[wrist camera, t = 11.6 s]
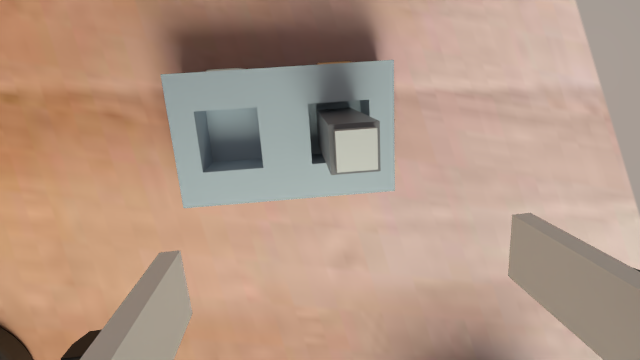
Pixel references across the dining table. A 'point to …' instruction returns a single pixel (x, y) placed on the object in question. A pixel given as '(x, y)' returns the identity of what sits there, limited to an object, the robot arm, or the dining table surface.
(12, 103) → the dining table surface
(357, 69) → the socket block
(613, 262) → the robot arm
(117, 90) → the dining table surface
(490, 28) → the dining table surface
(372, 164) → the plug
